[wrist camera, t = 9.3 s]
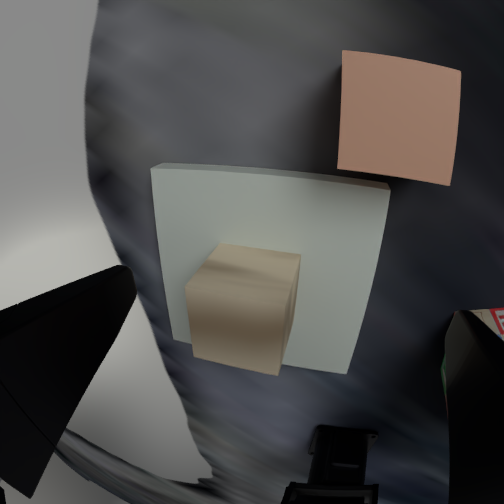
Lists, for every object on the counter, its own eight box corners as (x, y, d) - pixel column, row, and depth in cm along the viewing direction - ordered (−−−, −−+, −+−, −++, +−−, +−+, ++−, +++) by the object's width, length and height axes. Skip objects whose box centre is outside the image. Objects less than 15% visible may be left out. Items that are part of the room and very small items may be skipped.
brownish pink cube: (423, 162, 16) (449, 186, 11) (339, 150, 17) (337, 168, 13) (430, 77, 13) (461, 71, 9) (342, 64, 14) (342, 50, 10)
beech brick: (293, 320, 21) (278, 375, 17) (222, 307, 22) (193, 356, 18) (301, 254, 19) (285, 305, 14) (220, 242, 20) (184, 286, 15)
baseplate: (347, 360, 23) (346, 374, 22) (181, 328, 27) (173, 339, 25) (387, 183, 17) (390, 190, 15) (162, 162, 20) (150, 168, 19)
